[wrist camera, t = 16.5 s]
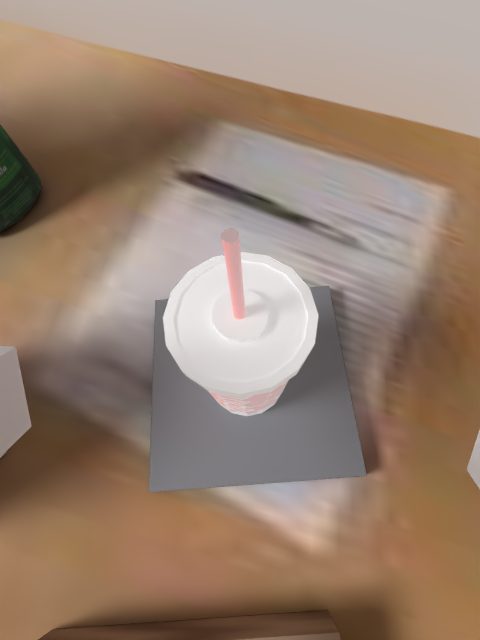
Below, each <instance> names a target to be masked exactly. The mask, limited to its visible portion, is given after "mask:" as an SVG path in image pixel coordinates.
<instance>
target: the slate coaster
mask: <svg viewBox="0 0 480 640" xmlns="http://www.w3.org/2000/svg"><path fill="white" fill-rule="evenodd" d="M310 290H311V293H312V296H313V299H314V302H315V306H316V309H317V312H318V323H317V331H316V339H315V345H314V347H313V348H312V350H311V352H310V353H309V355H308V357H307V358H306V360H305V361H304V363H303V365H302V366H301V368H300V369H299V371H298V373H297V374H296V375H295V376H293V377H292V378H291V379H289V380H288V382H287V384H286V386H285V388H284V390H283V392H282V393H281V395H280V397H279V398H278V400H277V401H276V403H275V404H274V405H273V406H272V407H270V408H269V409H267V410H266V411H264V412H263V413H260V414H255V415H251V416H244V415H239V414H234V413H231V412H230V411H229V410H227V409H226V408H224V407H223V406H221V405H220V404H219V403H218V402H217V401H216V400H215V398H214V397H213V396H212V395H211V394H210V393H209V392H208V391H207V390H206V389H205V388H203V387H202V386H200V385H199V384H197V383H196V382H194V381H193V380H191V379H190V378H188V377H187V376H186V375H185V374H184V373H183V372H182V371H181V369H180V368H179V366H178V364H177V363H176V361H175V359H174V358H173V356H172V354H171V353H170V351H169V350H168V348H167V346H166V342H165V333H164V324H163V315H164V312H165V309H166V306H167V303H168V300H169V299H166V300H155V330H154V359H153V388H152V417H151V446H150V475H149V492H159V491H172V490H185V489H198V488H212V487H225V486H238V485H251V484H265V483H278V482H291V481H304V480H317V479H331V478H344V477H357V476H367V475H366V470H365V465H364V460H363V455H362V450H361V445H360V440H359V435H358V430H357V425H356V420H355V415H354V410H353V405H352V400H351V395H350V390H349V385H348V379H347V374H346V369H345V364H344V359H343V354H342V349H341V344H340V339H339V334H338V329H337V324H336V319H335V314H334V309H333V304H332V299H331V294H330V289H329V286H323V287H310Z"/></svg>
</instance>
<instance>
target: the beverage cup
mask: <svg viewBox="0 0 480 640" xmlns="http://www.w3.org/2000/svg"><path fill="white" fill-rule="evenodd" d="M221 236H222V243H223V249H224V255H221V256H216V257H212V258H210V259H208V260H207V261H205V262H203V263H201V264H200V265H198V266H196V267H194V268H193V269H191V270H189V271H188V272H187V273H186V275H185V276H184V277H183V278H182V279H181V281H180V282H179V283H178V284H177V285H176V287H175V288H174V289H173V290H172V291H171V294H170V297H169V300H168V303H167V306H166V309H165V312H164V315H163V324H164V333H165V342H166V346H167V348H168V350H169V351H170V353H171V354H172V356H173V358H174V359H175V361H176V363H177V364H178V366H179V368H180V369H181V371H182V372H183V373H184V374H185V375H186V376H187V377H188V378H190V379H191V380H193V381H194V382H196V383H197V384H199V385H200V386H202V387H203V388H205V389H206V390H207V391H208V392H209V393H210V394H211V395H212V396H213V397H214V398H215V400H216V401H217V402H218V403H219V404H220V405H221V406H223V407H224V408H226V409H227V410H229V411H230V412H231V413H234V414H239V415H244V416H251V415H255V414H260V413H263V412H264V411H266V410H267V409H269V408H270V407H272V406H273V405H274V404H275V403H276V401H277V400H278V398H279V397H280V395H281V393H282V392H283V390H284V388H285V386H286V384H287V382H288V380H289V379H291V378H292V377H293V376H295V375H296V374H297V373H298V371H299V369H300V368H301V366H302V365H303V363H304V361H305V360H306V358H307V357H308V355H309V353H310V352H311V350H312V348H313V347H314V345H315V339H316V331H317V323H318V312H317V309H316V306H315V302H314V299H313V296H312V293H311V290H310V288H309V287H308V286H307V285H306V284H305V282H304V281H303V280H302V279H301V278H300V277H299V276H298V274H297V273H296V272H295V271H294V270H293V269H292V268H291V267H289V266H287V265H285V264H283V263H281V262H279V261H277V260H275V259H273V258H271V257H269V256H267V255H260V254H252V253H245V252H241V251H240V239H239V232H238V231H237V230H235V229H232V228H230V229H226V230H224V231H223V233H222V235H221Z"/></svg>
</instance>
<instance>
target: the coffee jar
mask: <svg viewBox="0 0 480 640" xmlns="http://www.w3.org/2000/svg"><path fill="white" fill-rule="evenodd" d="M40 191H41V181H40V178H39V177H38V175H37V174H36V172H35V171H34V169H33V168H32V167H31V165H30V164H29V162H28V161H27V160H26V158H25V157H24V156H23V154H22V153H21V152H20V150H19V149H18V147H17V146H16V145H15V143H14V142H13V141H12V139H11V138H10V137H9V136H8V134H7V133H6V132H5V130H4V129H3V128H2V126H1V125H0V231H2V230H4V229H6V228H7V227H9V226H11V225H13V224H15V223H16V222H17V221H18V220H20V219H21V218H22V217H24V216H25V215H26V213H27V212H28V211H29V210H30V209H31V208H32V206H33V205H34V203H35V201H36V200H37V198H38V196H39V194H40Z"/></svg>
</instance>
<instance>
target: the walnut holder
mask: <svg viewBox="0 0 480 640" xmlns="http://www.w3.org/2000/svg"><path fill="white" fill-rule="evenodd" d="M38 640H341V639H340V632H339V631H338V629H337V627H336V625H335V623H334V621H333V620H332V618H331V616H330V614H329V612H328V611H327V610H323V611H309V612H295V613H281V614H266V615H252V616H238V617H224V618H210V619H196V620H181V621H167V622H153V623H139V624H125V625H111V626H96V627H82V628H68V629H54V630H51V631H50V632H48V633H47V634H45V635H44V636H43V637H41V638H40V639H38Z"/></svg>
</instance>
